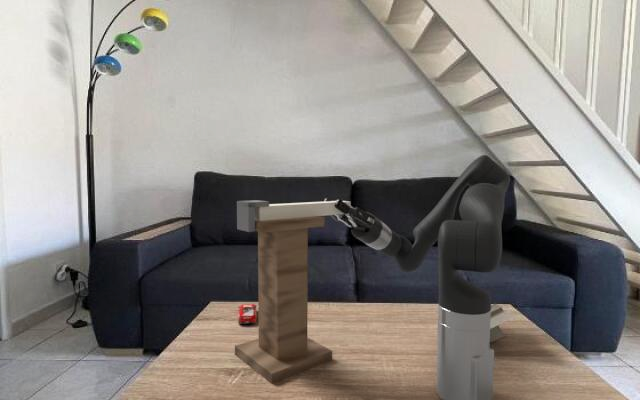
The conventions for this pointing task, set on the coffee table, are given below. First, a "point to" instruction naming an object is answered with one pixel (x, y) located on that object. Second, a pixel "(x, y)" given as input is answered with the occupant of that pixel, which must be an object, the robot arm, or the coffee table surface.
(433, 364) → the coffee table surface
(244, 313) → the race car
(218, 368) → the coffee table surface
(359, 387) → the coffee table surface
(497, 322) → the grey slanted stand
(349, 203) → the white bar
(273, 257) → the wooden pedestal post
